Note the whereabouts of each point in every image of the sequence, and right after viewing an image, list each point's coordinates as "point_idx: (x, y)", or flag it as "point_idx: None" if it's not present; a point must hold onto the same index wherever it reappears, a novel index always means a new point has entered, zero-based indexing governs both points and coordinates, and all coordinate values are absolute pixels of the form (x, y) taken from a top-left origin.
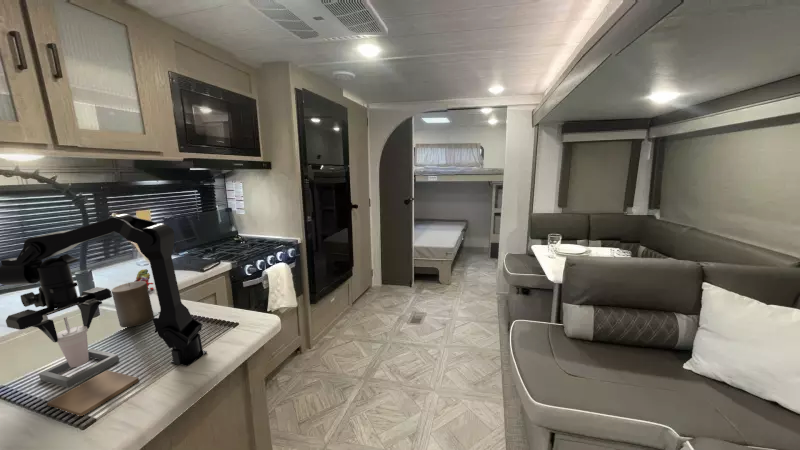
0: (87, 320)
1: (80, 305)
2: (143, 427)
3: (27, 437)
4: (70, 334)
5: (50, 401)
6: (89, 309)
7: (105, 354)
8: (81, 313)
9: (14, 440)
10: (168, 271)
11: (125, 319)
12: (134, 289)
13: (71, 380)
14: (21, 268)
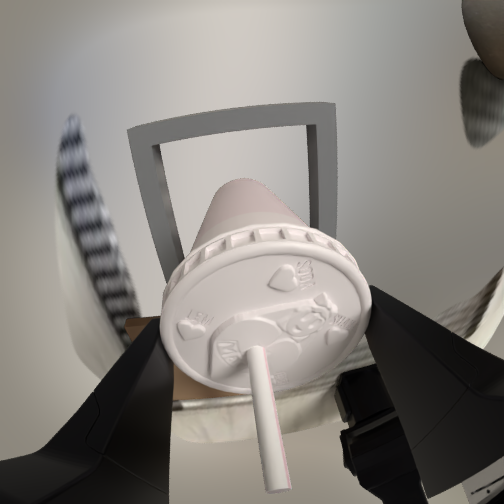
0: (386, 382)
1: (501, 447)
2: (213, 442)
3: (100, 370)
4: (244, 377)
5: (130, 329)
6: (421, 474)
7: (323, 229)
8: (448, 376)
9: (84, 360)
10: None
11: (494, 36)
12: None
13: None
14: None
